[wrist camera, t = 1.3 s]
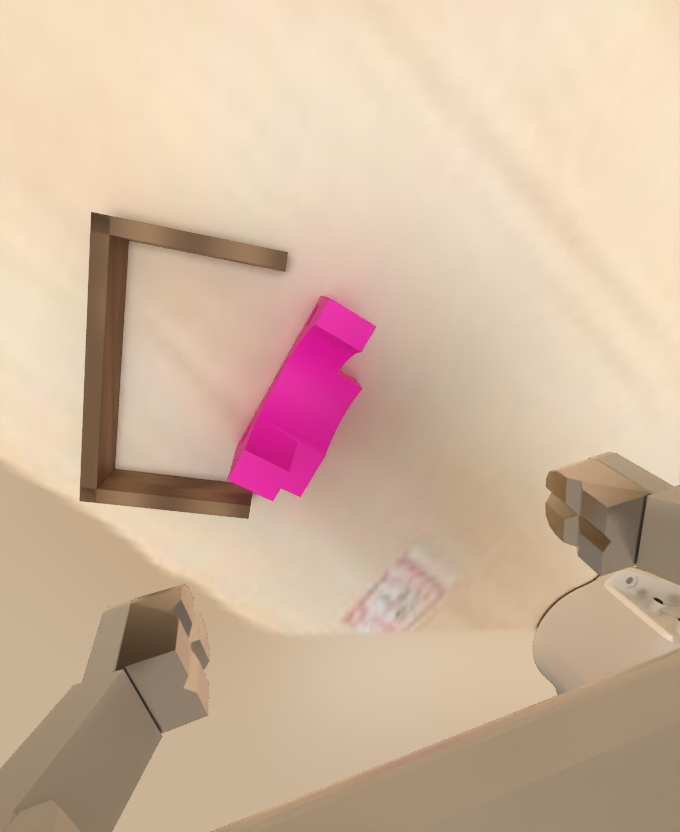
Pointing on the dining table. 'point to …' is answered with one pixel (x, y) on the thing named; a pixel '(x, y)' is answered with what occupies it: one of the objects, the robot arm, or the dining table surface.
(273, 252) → the walnut bay
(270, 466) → the toy block
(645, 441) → the dining table surface
